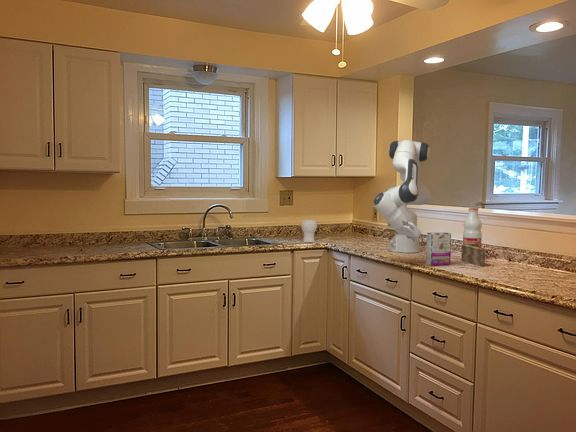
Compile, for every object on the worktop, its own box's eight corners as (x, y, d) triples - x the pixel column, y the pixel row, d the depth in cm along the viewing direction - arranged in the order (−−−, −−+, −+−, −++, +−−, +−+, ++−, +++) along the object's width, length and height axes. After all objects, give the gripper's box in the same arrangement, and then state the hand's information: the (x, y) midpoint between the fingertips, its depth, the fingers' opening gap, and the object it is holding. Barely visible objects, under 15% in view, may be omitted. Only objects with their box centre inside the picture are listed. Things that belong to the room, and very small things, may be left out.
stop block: (460, 260, 259) (461, 244, 258) (464, 260, 259) (464, 244, 259) (480, 266, 241) (481, 248, 241) (484, 266, 242) (485, 248, 241)
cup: (302, 243, 325) (302, 220, 324) (299, 241, 336) (300, 219, 335) (317, 243, 327) (318, 220, 326) (315, 241, 337) (315, 219, 336)
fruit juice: (472, 257, 271) (474, 207, 269) (484, 260, 262) (486, 208, 260) (458, 258, 267) (460, 207, 265) (470, 261, 259) (472, 208, 257)
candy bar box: (444, 263, 249) (445, 231, 248) (450, 265, 244) (451, 232, 243) (425, 264, 246) (426, 232, 245) (431, 266, 241) (432, 233, 240)
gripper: (413, 217, 229) (431, 238, 231) (394, 215, 249) (411, 234, 251) (403, 227, 228) (422, 247, 231) (385, 223, 248) (402, 242, 251)
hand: (416, 240), depth 241 cm, fingers closed
